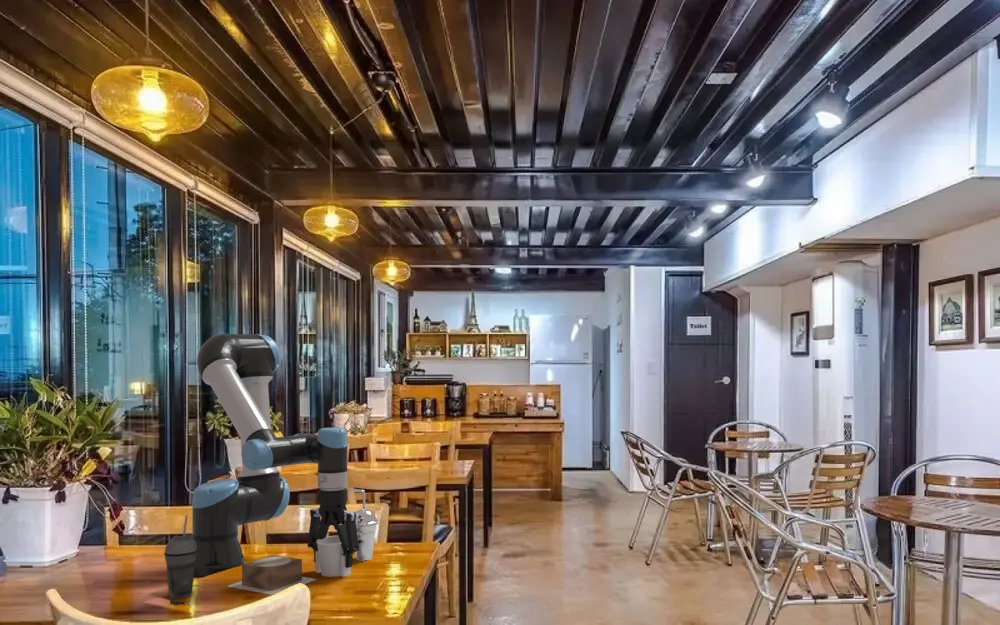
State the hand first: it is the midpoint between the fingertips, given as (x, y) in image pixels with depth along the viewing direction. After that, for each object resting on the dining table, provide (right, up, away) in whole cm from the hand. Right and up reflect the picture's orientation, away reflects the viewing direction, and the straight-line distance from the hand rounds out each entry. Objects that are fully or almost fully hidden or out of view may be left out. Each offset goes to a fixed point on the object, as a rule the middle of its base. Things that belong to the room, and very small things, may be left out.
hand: (333, 577), depth 190 cm
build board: (-13, 0, -7) cm, 15 cm away
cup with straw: (+4, -2, +19) cm, 20 cm away
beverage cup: (-32, 0, -16) cm, 36 cm away
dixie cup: (0, 0, 0) cm, 0 cm away
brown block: (-13, +1, -7) cm, 15 cm away
